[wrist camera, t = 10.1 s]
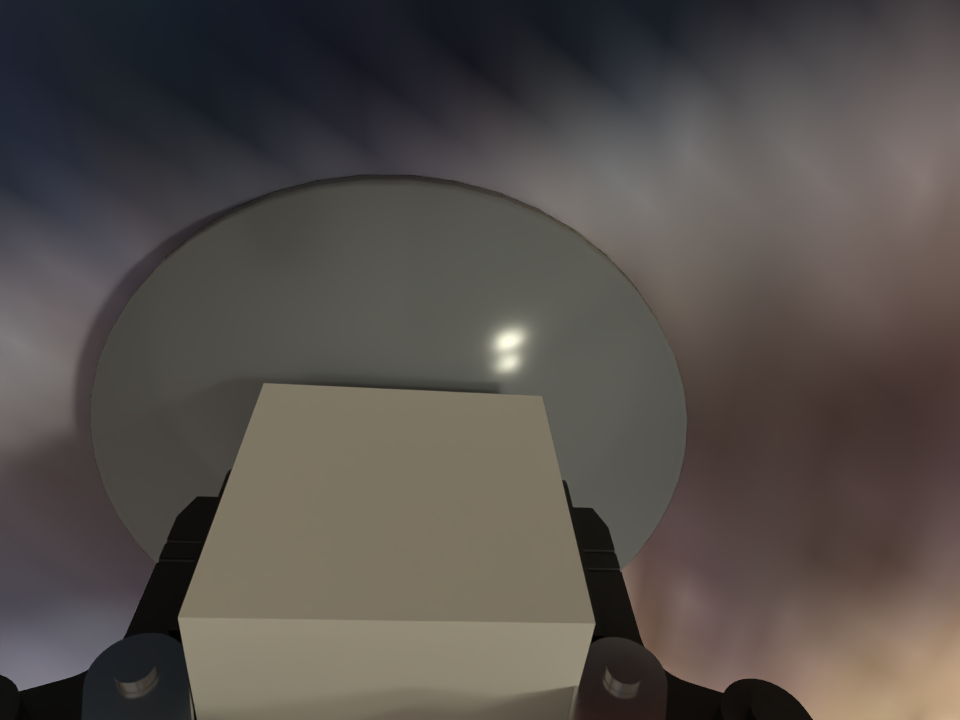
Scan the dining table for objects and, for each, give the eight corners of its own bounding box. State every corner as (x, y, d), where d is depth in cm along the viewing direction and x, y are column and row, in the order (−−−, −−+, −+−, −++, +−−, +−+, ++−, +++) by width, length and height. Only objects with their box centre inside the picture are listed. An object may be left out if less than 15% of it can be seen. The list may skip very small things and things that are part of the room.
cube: (541, 396, 13) (595, 623, 9) (510, 583, 16) (539, 829, 11) (263, 382, 13) (178, 618, 8) (278, 579, 15) (218, 834, 11)
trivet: (747, 198, 13) (760, 209, 12) (619, 636, 19) (625, 656, 18) (40, 148, 12) (22, 159, 11) (150, 632, 18) (141, 653, 17)
